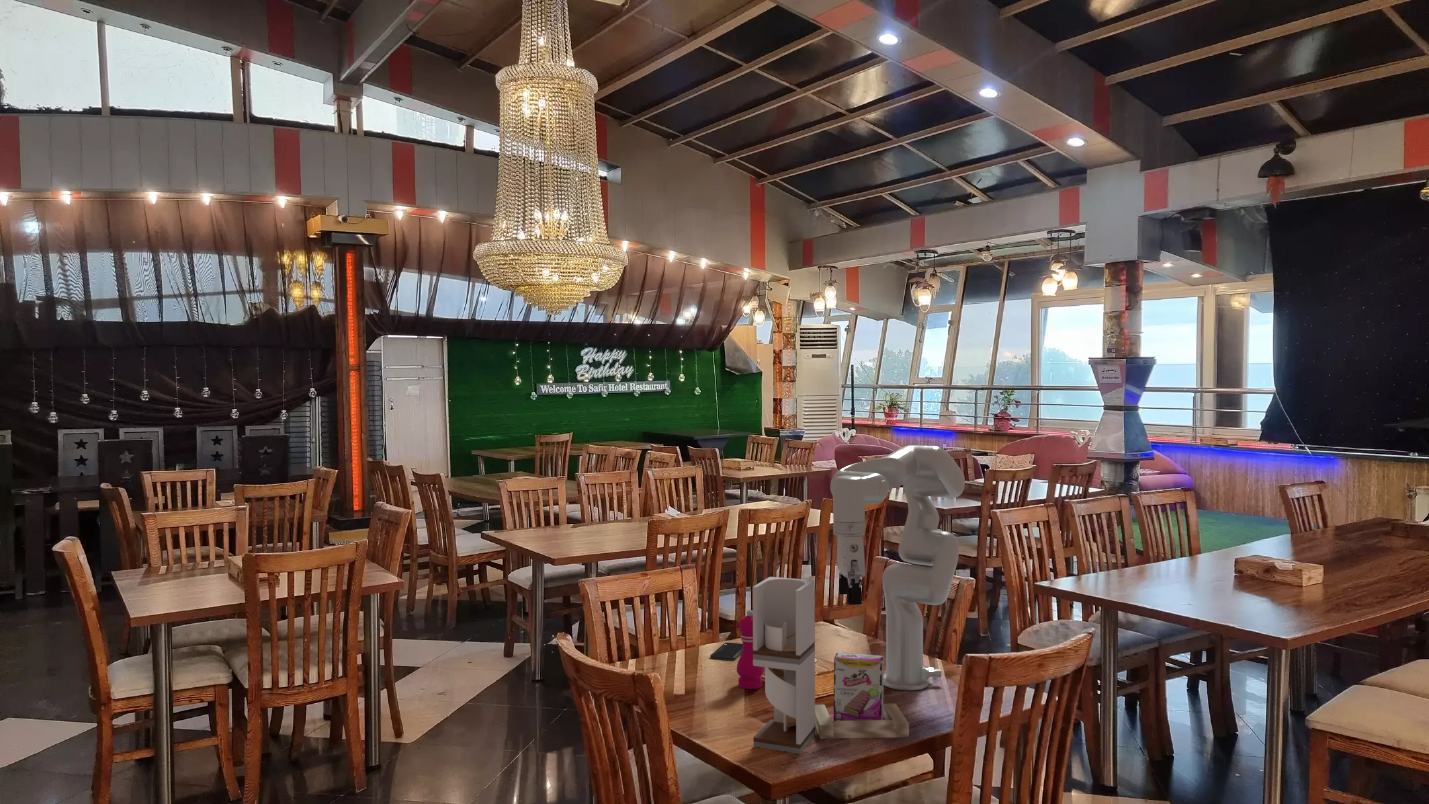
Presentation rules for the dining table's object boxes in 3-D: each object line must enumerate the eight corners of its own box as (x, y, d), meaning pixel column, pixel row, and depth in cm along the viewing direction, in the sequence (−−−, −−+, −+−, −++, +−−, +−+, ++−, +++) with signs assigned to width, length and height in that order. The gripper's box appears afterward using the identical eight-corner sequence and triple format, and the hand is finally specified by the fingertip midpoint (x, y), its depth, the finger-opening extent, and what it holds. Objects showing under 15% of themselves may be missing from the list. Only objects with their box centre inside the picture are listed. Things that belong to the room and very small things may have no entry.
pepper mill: (764, 681, 237) (764, 606, 237) (763, 690, 230) (763, 613, 230) (737, 680, 238) (737, 606, 238) (735, 689, 231) (735, 612, 231)
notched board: (895, 715, 212) (895, 703, 212) (909, 736, 199) (909, 723, 199) (811, 717, 211) (811, 704, 211) (820, 738, 198) (820, 724, 198)
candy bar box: (833, 728, 204) (832, 657, 204) (835, 720, 209) (835, 651, 209) (882, 732, 201) (882, 660, 201) (884, 724, 206) (883, 654, 206)
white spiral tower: (770, 728, 204) (769, 576, 204) (815, 734, 200) (814, 580, 200) (753, 746, 194) (752, 586, 193) (800, 753, 190) (799, 590, 189)
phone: (749, 644, 270) (734, 658, 256) (749, 647, 270) (734, 662, 256) (725, 641, 272) (708, 655, 258) (725, 645, 272) (708, 659, 258)
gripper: (873, 533, 203) (874, 607, 204) (856, 521, 221) (857, 589, 221) (841, 534, 203) (842, 608, 203) (826, 522, 220) (827, 590, 221)
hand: (850, 598), depth 212 cm, fingers open, 9 cm apart
